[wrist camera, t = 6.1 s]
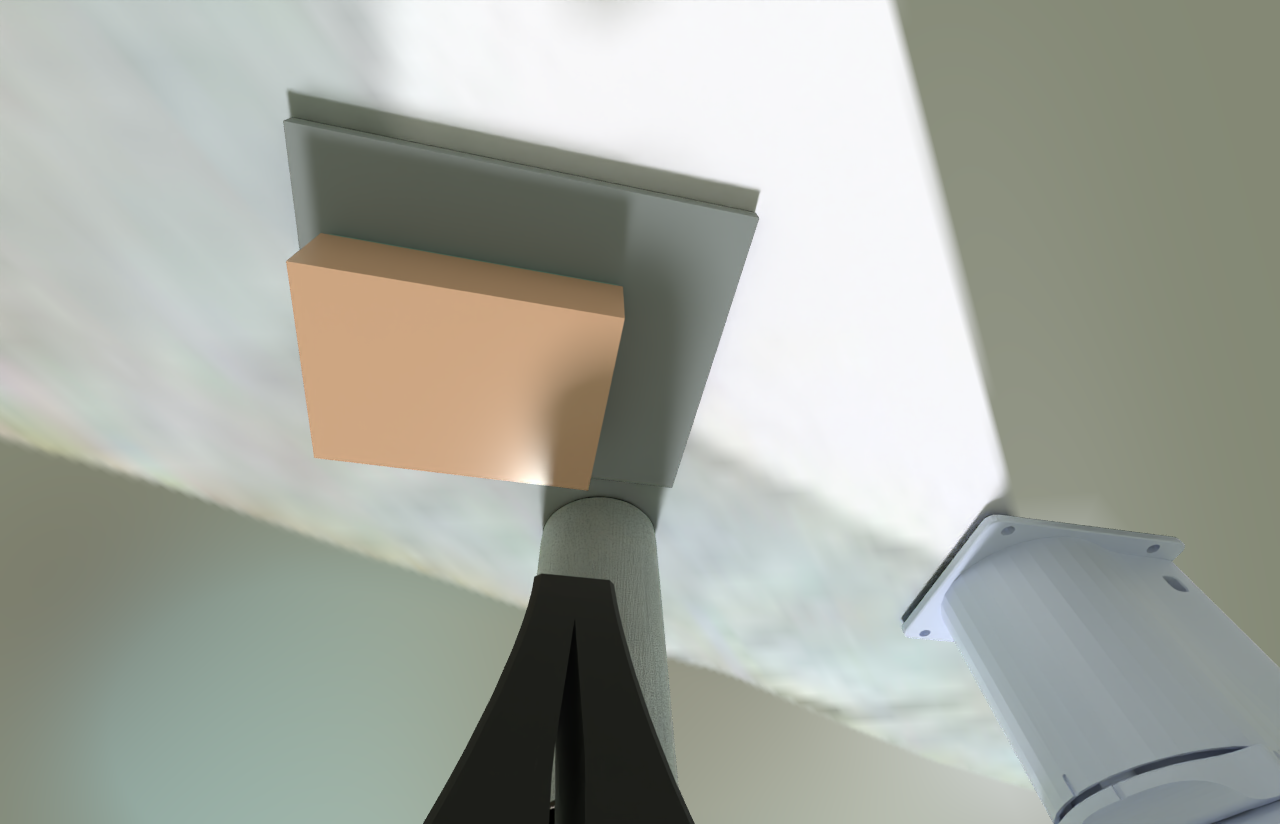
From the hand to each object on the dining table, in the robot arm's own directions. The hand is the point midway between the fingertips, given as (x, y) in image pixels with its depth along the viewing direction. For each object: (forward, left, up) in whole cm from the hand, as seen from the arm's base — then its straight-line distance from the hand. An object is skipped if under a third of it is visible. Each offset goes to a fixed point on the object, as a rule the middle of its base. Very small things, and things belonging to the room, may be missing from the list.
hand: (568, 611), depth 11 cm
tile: (-1, 0, -8) cm, 8 cm away
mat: (+2, 0, -10) cm, 10 cm away
